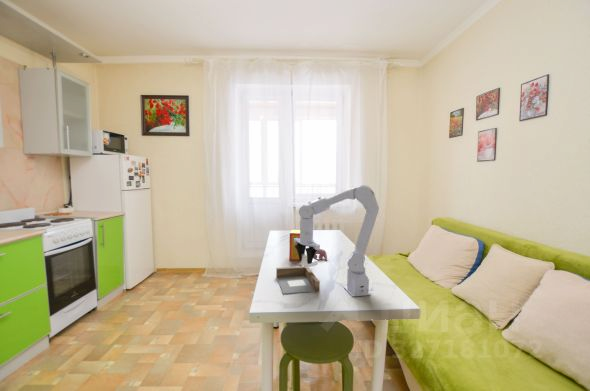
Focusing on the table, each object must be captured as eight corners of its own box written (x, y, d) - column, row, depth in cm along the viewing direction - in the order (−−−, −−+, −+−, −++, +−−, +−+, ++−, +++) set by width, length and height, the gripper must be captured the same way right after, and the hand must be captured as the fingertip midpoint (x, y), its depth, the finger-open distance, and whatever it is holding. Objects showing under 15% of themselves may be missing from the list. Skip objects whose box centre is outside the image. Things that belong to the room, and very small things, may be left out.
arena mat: (318, 291, 107) (318, 290, 107) (283, 294, 103) (283, 293, 103) (307, 274, 124) (307, 273, 124) (276, 277, 121) (276, 275, 121)
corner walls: (319, 291, 106) (319, 281, 106) (283, 295, 103) (283, 284, 103) (307, 274, 124) (307, 265, 124) (276, 277, 121) (276, 268, 120)
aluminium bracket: (307, 267, 112) (308, 256, 112) (300, 264, 116) (301, 253, 116) (317, 264, 116) (318, 254, 116) (310, 262, 120) (310, 251, 119)
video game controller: (326, 261, 148) (325, 249, 151) (327, 260, 144) (327, 247, 147) (309, 261, 148) (308, 249, 151) (310, 260, 144) (309, 247, 146)
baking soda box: (291, 255, 154) (292, 228, 153) (302, 255, 153) (303, 229, 152) (289, 260, 144) (289, 232, 143) (300, 261, 144) (301, 232, 142)
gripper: (325, 233, 111) (324, 264, 112) (301, 227, 121) (301, 255, 123) (313, 235, 106) (312, 267, 107) (290, 229, 117) (289, 258, 118)
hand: (305, 261), depth 114 cm, fingers closed on aluminium bracket, 4 cm apart
